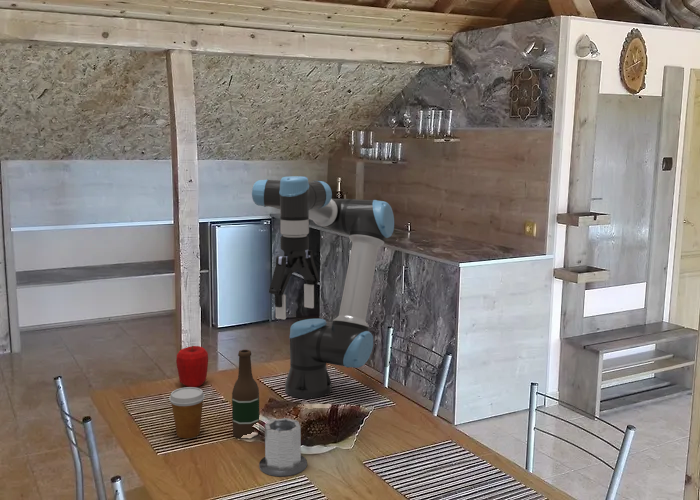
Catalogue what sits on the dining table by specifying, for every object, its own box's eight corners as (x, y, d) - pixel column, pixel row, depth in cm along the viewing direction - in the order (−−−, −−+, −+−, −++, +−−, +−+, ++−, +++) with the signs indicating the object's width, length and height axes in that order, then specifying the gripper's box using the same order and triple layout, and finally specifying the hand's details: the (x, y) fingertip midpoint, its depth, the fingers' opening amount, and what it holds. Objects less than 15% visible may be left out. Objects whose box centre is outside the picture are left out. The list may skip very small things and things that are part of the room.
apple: (184, 378, 239) (182, 340, 237) (213, 380, 238) (212, 341, 235) (172, 390, 229) (170, 349, 226) (202, 391, 227) (201, 351, 225)
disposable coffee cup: (197, 442, 191) (196, 400, 189) (164, 439, 192) (163, 397, 190) (211, 428, 200) (210, 387, 198) (179, 425, 202) (178, 385, 200)
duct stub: (294, 450, 186) (294, 419, 185) (315, 469, 176) (315, 436, 174) (251, 461, 180) (251, 429, 179) (271, 481, 170) (270, 447, 169)
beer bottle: (265, 430, 199) (263, 348, 195) (252, 441, 191) (250, 356, 187) (240, 426, 201) (238, 345, 197) (227, 437, 194) (224, 353, 190)
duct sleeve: (306, 459, 180) (305, 422, 178) (287, 473, 172) (286, 435, 171) (279, 452, 184) (278, 416, 182) (259, 465, 176) (258, 427, 175)
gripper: (308, 228, 199) (308, 301, 203) (254, 240, 178) (255, 321, 182) (331, 230, 196) (331, 304, 199) (278, 242, 174) (279, 325, 178)
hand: (295, 313), depth 190 cm, fingers open, 13 cm apart
